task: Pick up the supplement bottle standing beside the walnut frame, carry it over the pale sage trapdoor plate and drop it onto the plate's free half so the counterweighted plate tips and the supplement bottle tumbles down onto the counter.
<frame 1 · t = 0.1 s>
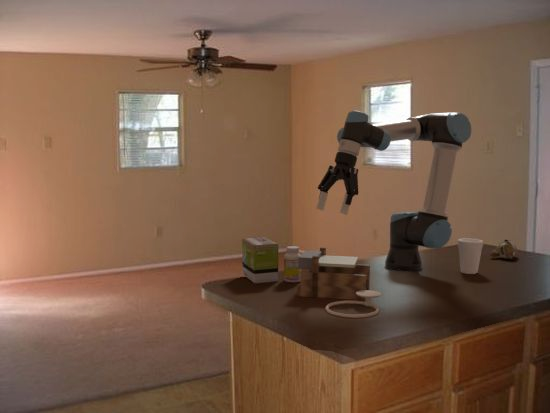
hand: (331, 211, 223), 28 cm above the table, fingers open, 13 cm apart
hand towel holder: (355, 310, 200), on the table
foam cup: (469, 272, 255), on the table
supplement bottle: (292, 281, 238), on the table
tea box: (259, 278, 242), on the table
frame: (338, 292, 221), on the table
ceramic sculpture: (505, 258, 285), on the table
trapdoor: (328, 260, 221), point 11 cm above the table, hinge at 0.0°
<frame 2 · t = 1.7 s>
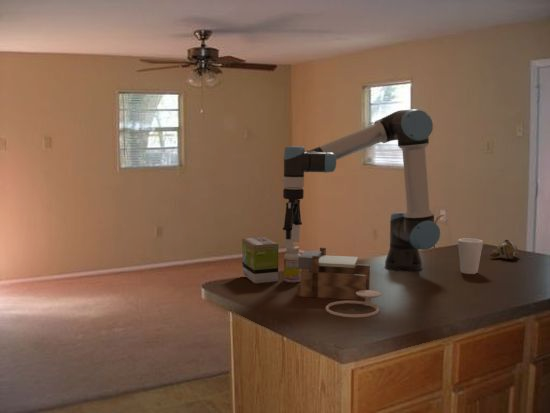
hand: (292, 244, 237), 14 cm above the table, fingers open, 13 cm apart
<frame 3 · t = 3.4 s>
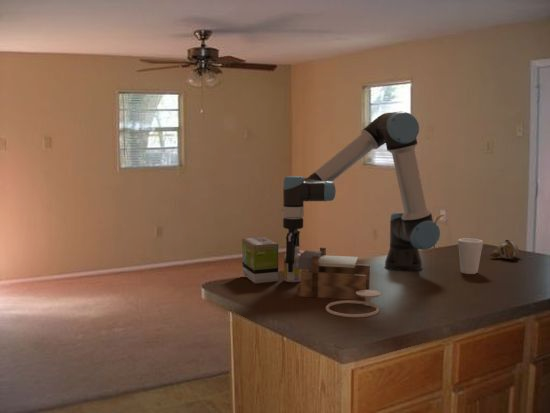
hand: (292, 278, 238), 1 cm above the table, fingers closed on supplement bottle, 7 cm apart
supplement bottle: (292, 281, 238), on the table, touching gripper
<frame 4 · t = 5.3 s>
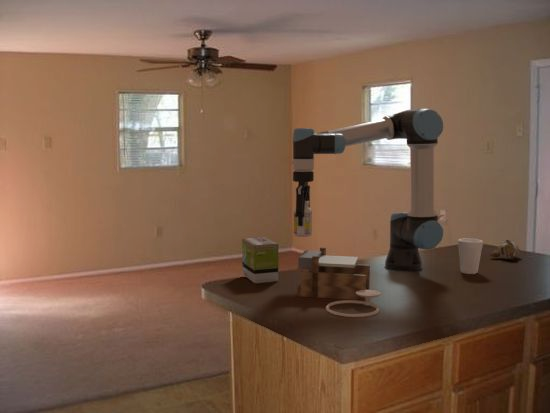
hand: (302, 233, 233), 19 cm above the table, fingers closed on supplement bottle, 7 cm apart
supplement bottle: (302, 236, 233), point 17 cm above the table, touching gripper
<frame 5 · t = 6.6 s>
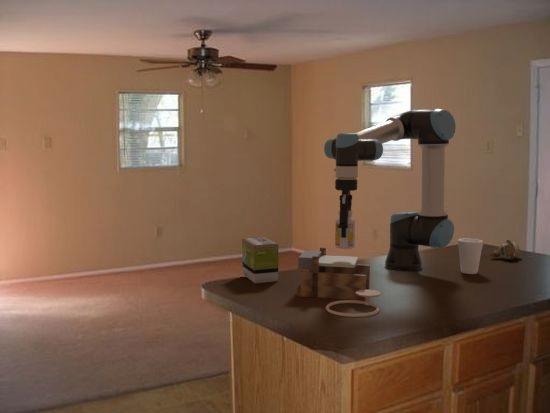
hand: (344, 244, 219), 17 cm above the table, fingers closed on supplement bottle, 7 cm apart
supplement bottle: (344, 248, 219), point 16 cm above the table, touching gripper
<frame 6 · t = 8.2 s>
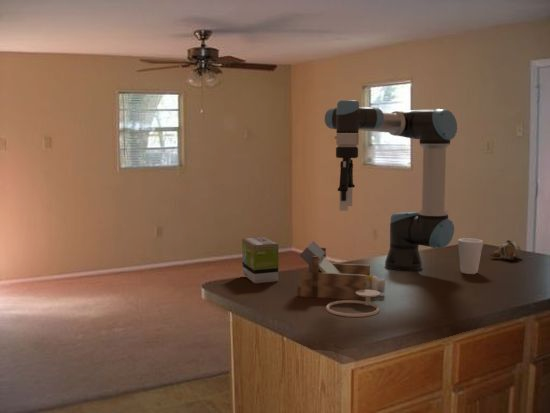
hand: (346, 208, 218), 30 cm above the table, fingers open, 13 cm apart
supplement bottle: (346, 283, 220), point 3 cm above the table, touching trapdoor
trapdoor: (326, 267, 221), point 9 cm above the table, hinge at -42.0°, touching supplement bottle
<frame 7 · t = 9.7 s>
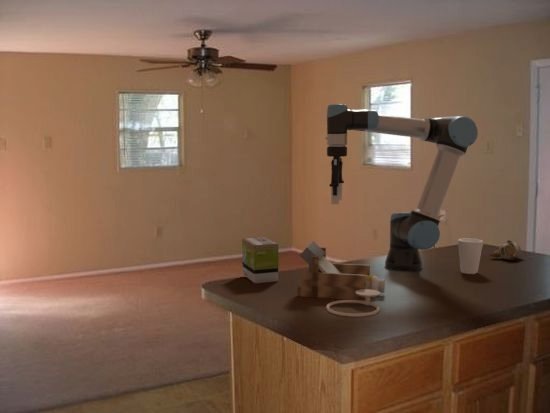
hand: (336, 202, 240), 29 cm above the table, fingers open, 13 cm apart
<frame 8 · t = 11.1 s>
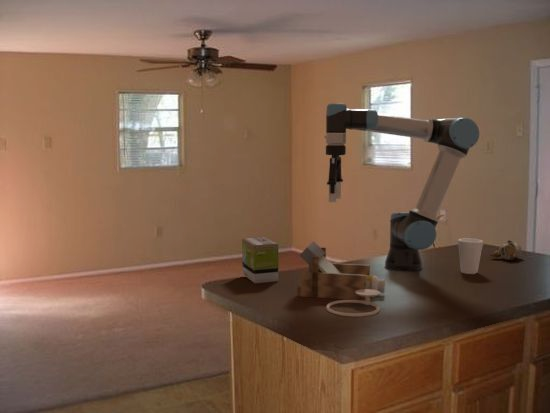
hand: (334, 200, 242), 30 cm above the table, fingers open, 13 cm apart
at the end: supplement bottle point 3.3 cm above the table; the gripper is holding nothing; supplement bottle moved 25.9 cm from its start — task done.
